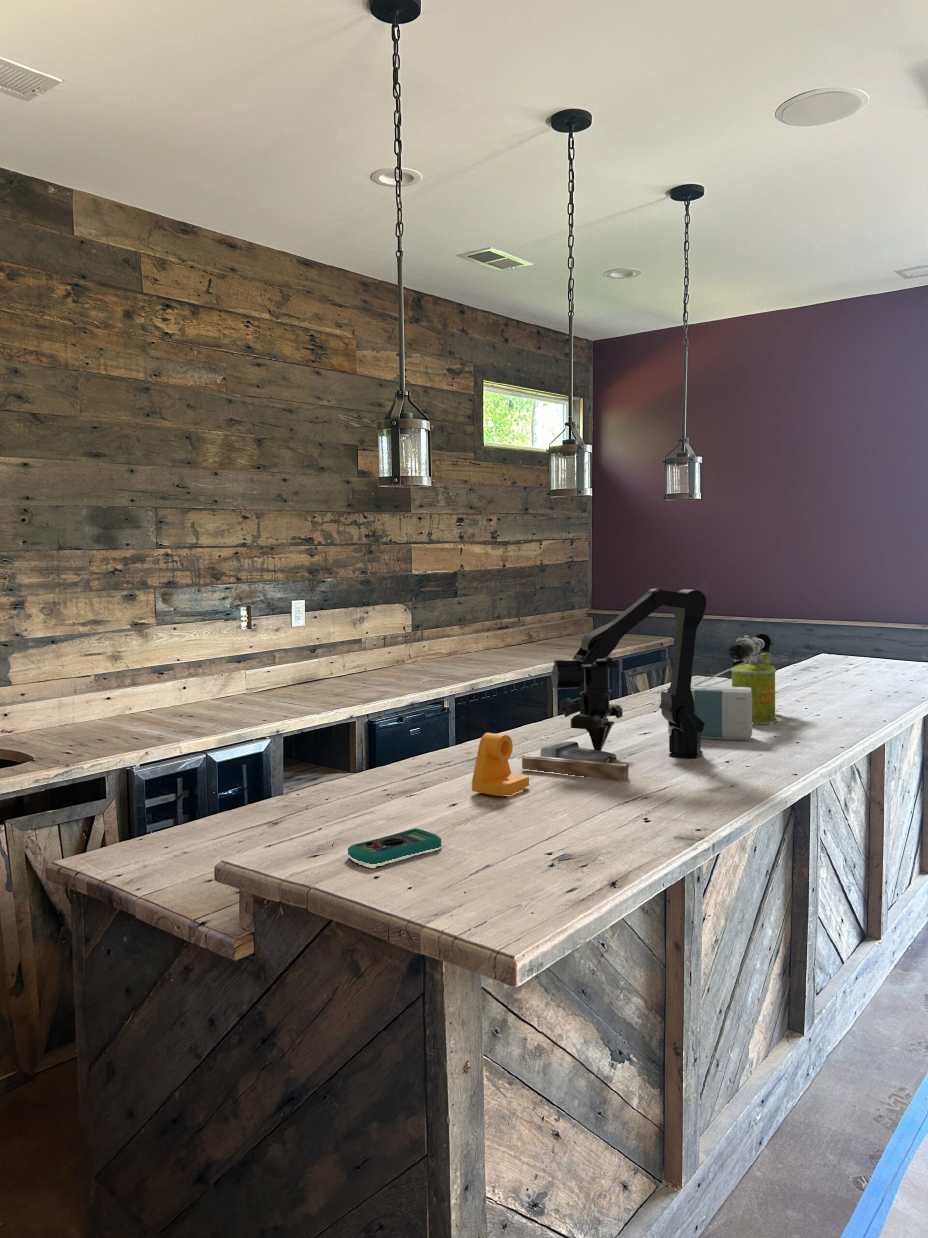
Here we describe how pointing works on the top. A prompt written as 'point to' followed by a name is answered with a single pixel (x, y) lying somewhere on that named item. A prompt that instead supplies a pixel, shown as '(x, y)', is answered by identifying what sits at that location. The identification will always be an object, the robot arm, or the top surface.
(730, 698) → the stereo radio cassette player
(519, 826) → the top surface
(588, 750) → the handheld device
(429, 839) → the digital multimeter
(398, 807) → the top surface
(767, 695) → the blowtorch
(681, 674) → the robot arm
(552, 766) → the beam
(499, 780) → the bracket
